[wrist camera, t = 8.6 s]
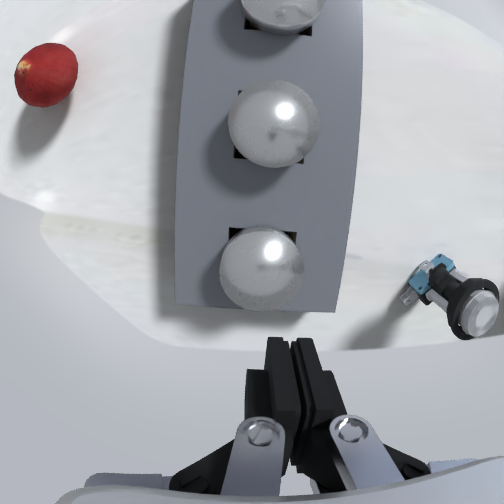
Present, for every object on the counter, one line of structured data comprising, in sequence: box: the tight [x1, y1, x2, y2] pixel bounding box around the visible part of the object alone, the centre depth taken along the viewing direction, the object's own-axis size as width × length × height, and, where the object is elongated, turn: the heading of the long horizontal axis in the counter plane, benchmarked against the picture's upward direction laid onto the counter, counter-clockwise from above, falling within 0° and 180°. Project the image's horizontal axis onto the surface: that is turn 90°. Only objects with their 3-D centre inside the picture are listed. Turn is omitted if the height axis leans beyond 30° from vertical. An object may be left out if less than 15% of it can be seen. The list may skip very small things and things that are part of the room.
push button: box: [400, 254, 499, 340], centre depth 25 cm, size 7×5×10 cm
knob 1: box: [241, 0, 325, 35], centre depth 19 cm, size 6×6×6 cm
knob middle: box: [228, 80, 320, 168], centre depth 22 cm, size 6×6×6 cm
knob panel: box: [175, 0, 363, 312], centre depth 23 cm, size 13×28×4 cm, turn 176°
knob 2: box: [219, 225, 304, 312], centre depth 25 cm, size 6×6×6 cm
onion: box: [14, 43, 78, 107], centre depth 19 cm, size 6×6×8 cm
